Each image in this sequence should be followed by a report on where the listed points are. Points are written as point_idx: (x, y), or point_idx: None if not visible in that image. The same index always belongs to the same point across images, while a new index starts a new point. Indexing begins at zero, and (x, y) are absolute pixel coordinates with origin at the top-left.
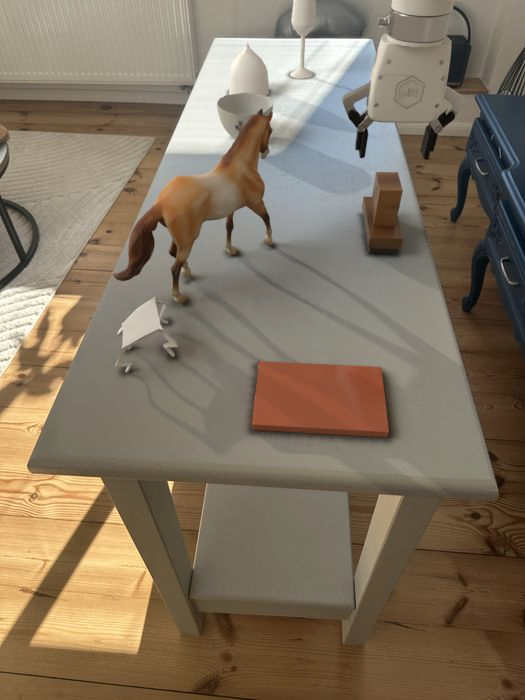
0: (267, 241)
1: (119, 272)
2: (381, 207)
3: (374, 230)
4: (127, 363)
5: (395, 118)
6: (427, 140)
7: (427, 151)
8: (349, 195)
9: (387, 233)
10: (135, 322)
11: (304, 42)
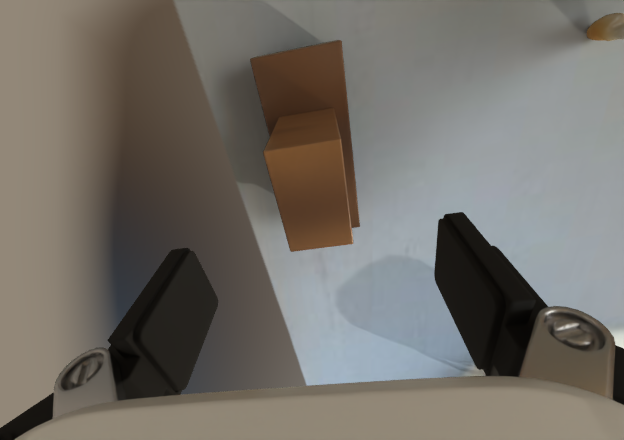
0: (621, 13)
1: None
2: (322, 124)
3: (330, 85)
4: None
5: (366, 424)
6: (161, 313)
7: (168, 269)
8: (376, 256)
9: (294, 78)
10: None
11: None
